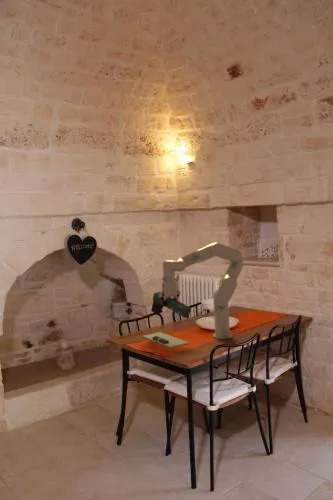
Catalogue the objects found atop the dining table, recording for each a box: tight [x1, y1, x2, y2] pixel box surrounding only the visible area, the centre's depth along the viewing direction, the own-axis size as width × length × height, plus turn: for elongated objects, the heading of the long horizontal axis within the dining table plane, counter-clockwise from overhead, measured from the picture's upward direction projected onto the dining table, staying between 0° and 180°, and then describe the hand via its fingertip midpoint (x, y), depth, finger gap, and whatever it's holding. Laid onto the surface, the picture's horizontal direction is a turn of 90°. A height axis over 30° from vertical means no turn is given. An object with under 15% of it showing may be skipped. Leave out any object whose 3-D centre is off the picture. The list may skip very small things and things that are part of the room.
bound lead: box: [153, 336, 169, 344], centre depth 311 cm, size 15×4×2 cm, turn 33°
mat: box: [142, 331, 190, 349], centre depth 315 cm, size 34×14×1 cm, turn 33°
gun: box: [150, 291, 192, 319], centre depth 316 cm, size 7×29×15 cm, turn 47°
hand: (170, 305), depth 316 cm, fingers closed on gun, 7 cm apart
